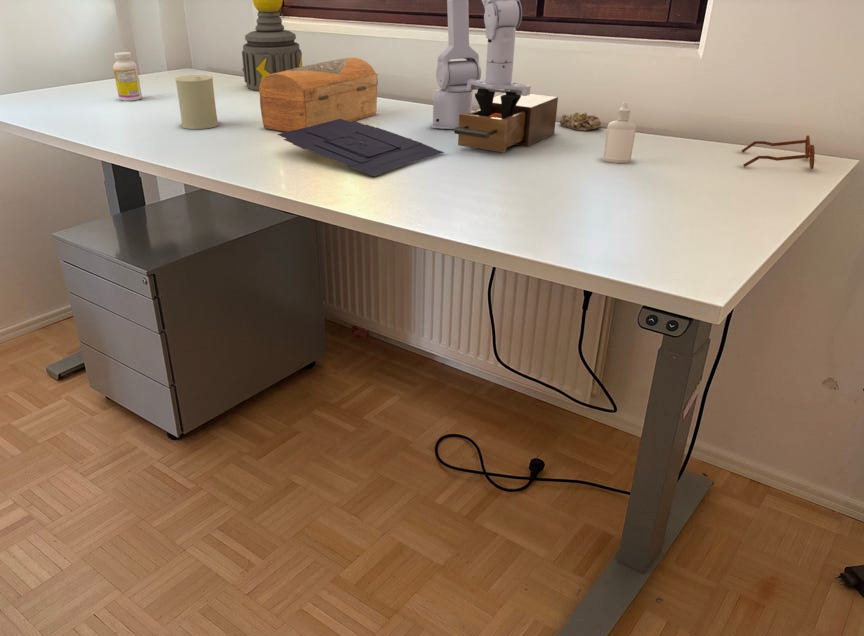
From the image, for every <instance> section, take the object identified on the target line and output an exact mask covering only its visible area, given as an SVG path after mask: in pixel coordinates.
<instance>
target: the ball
mask: <svg viewBox="0 0 864 636" xmlns="http://www.w3.org/2000/svg"><path fill="white" fill-rule="evenodd" d="M489 117H494V118H502V115H501V114H499V113H494V114H491V115H490V116H489Z"/></svg>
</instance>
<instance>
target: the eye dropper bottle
mask: <svg viewBox="0 0 864 636" xmlns="http://www.w3.org/2000/svg"><path fill="white" fill-rule="evenodd" d="M616 114H617V115H616V120H612V121H610V122H608V125H607V129H606V134H605V135H606V136H605V142H604V148H603V149H604V151H603V158H602V159H603V161H604V162H606V163H607V162H608V163H612V164H613V163H614V164H629V163H630V162H631V161H632V154H633V149H634V142H635V136H636V129H637V127H636V123H635V122H633V121H630V115H631V109H630V108H629V106H628V101H623V103H622V106H621V107H620V108H618V109H617V113H616Z"/></svg>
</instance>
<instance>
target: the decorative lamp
mask: <svg viewBox="0 0 864 636" xmlns="http://www.w3.org/2000/svg"><path fill="white" fill-rule="evenodd" d="M283 2H284V0H252V4H253V6H254V8H255V9H256V10H257V18H256V26H255V28H254V29H255V30H253V31H249V32H248V33H246V34H245V35H244V40H245V41H246V43H244V44H243V45H242V50H241V55H242V56H241V57H242V69H241V70H242V72H243V78H244V79H243V80H244V83H246V84H245V85H246V87H247V89H249V90H251V91H255V92H259V85H260V83H261V81H262V80H263V79H264V78H265V77H266V76H268V75H270V74H273V73H278V72H282V71H287V70H291V69H294V68H298V67H303V52H302V49H300V44H299V43H298V42H296V41H295V40H296V39H297V35H296V33H294V32H292V31H291V30H286V29H285V26H284V25H283V24H282V23H283V20H282V18H281V13H280V10H281V8H282V7H283Z"/></svg>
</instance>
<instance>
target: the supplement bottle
mask: <svg viewBox="0 0 864 636" xmlns="http://www.w3.org/2000/svg"><path fill="white" fill-rule="evenodd" d="M113 55H114V58H115V62H114V63H113V65H112V68H113V72H114V73H113V74H114V79H115V85H116V90H117V95H118V96H117V97H118V99H119V100H120V101H123V102H128V101H129V102H133V101H138V100H141V99H142V97H143V94H142V88H141V83H140V75H139V71H138V66H137V63H136V62H135V61H133V60H132V52H130V51H120V52H114V54H113Z"/></svg>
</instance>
